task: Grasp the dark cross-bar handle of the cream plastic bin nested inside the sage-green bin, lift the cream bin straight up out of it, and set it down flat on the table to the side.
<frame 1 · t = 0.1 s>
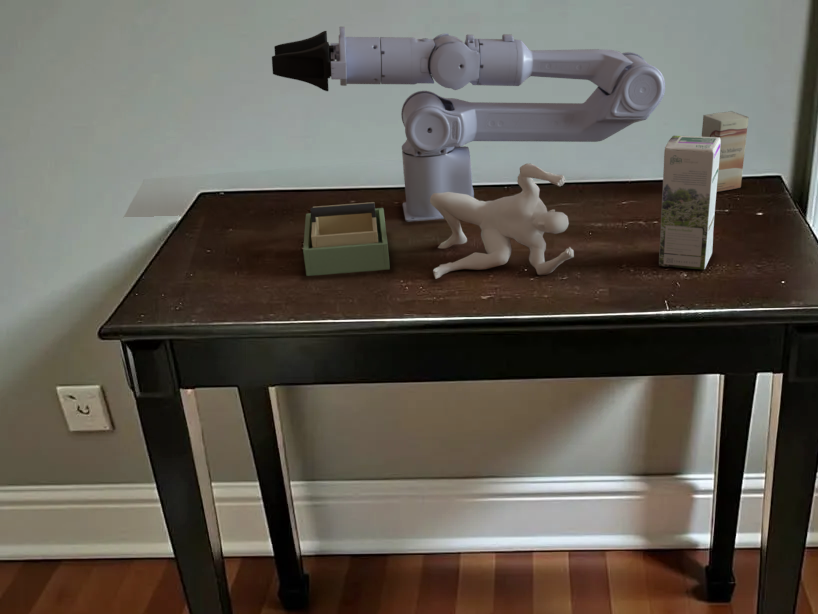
hand: (273, 59, 137), 22 cm above the table, tool horizontal, fingers open, 7 cm apart
makeup remover box: (719, 188, 155), on the table
person figurine: (502, 265, 132), on the table
sage bin: (348, 255, 137), on the table
cream bin: (347, 252, 137), resting on sage bin
syrup box: (685, 262, 130), on the table
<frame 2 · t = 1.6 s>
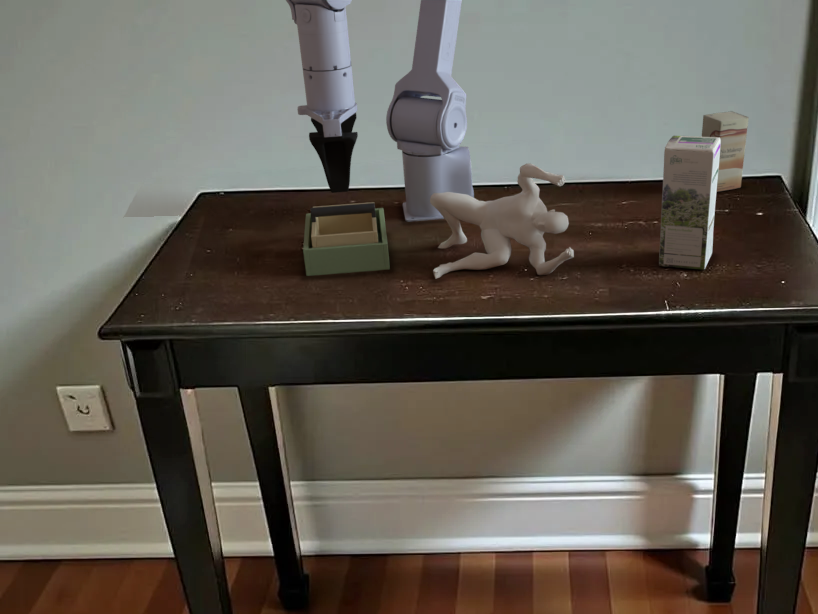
hand: (339, 182, 132), 9 cm above the table, tool pointing down, fingers open, 7 cm apart
nothing on the table moved.
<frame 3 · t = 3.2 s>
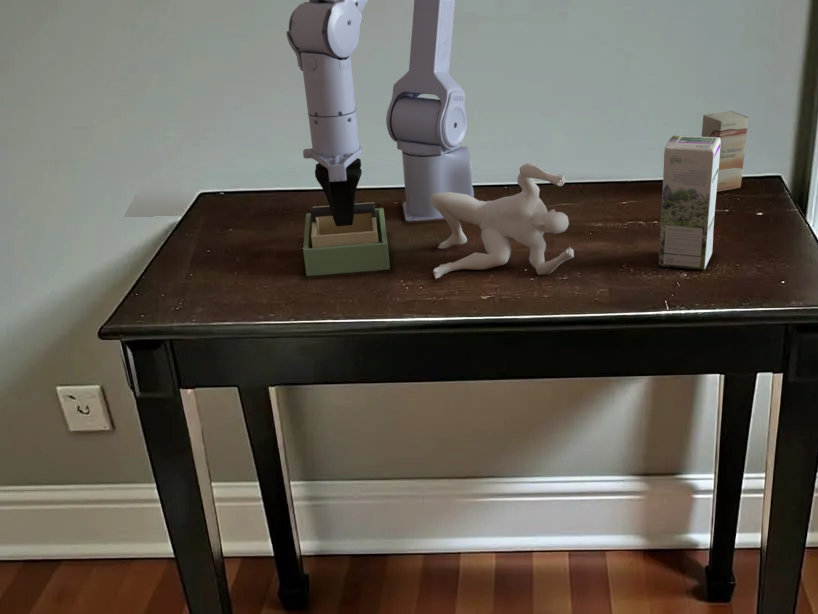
hand: (344, 222, 134), 4 cm above the table, tool pointing down, fingers closed on cream bin
cream bin: (347, 252, 137), resting on sage bin, touching gripper
everything else where it was.
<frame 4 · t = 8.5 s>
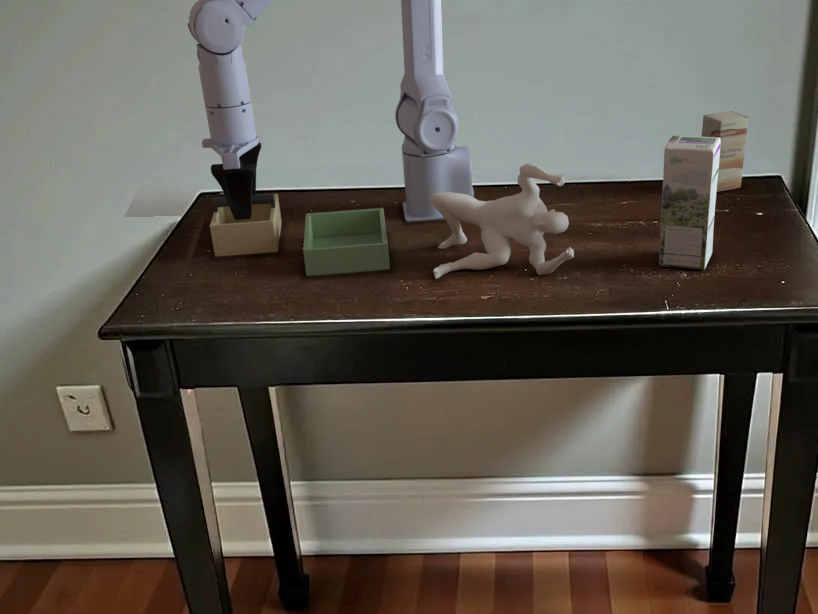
hand: (245, 209, 141), 4 cm above the table, tool pointing down, fingers open, 7 cm apart
cream bin: (250, 241, 143), on the table
everything else where it was.
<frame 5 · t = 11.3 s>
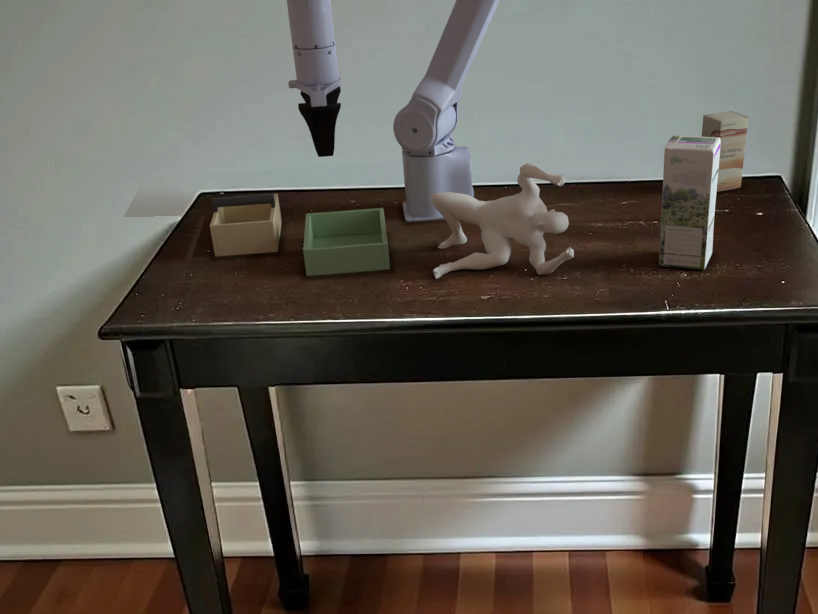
hand: (326, 148, 149), 8 cm above the table, tool pointing down, fingers open, 7 cm apart
nothing on the table moved.
at the end: cream bin 0.0 cm from the target spot, on the table; cream bin tilted 0°; the gripper is holding nothing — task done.
